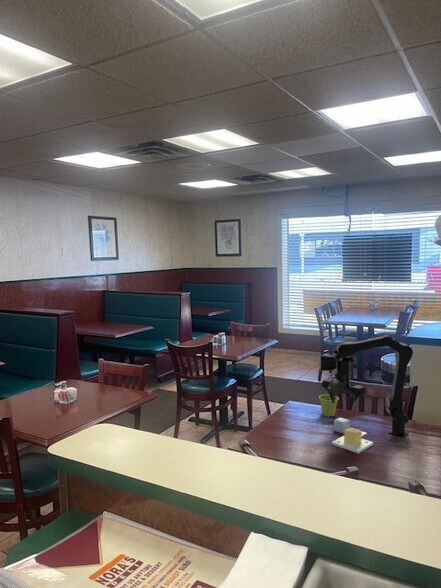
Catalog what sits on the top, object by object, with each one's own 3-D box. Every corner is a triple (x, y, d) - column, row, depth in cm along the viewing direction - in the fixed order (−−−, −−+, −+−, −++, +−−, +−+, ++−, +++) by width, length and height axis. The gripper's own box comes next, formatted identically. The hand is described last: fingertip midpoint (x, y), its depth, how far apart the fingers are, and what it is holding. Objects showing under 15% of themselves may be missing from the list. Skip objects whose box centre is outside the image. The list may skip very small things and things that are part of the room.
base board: (347, 436, 188) (347, 433, 188) (373, 444, 180) (373, 441, 180) (331, 444, 180) (331, 441, 180) (358, 453, 171) (358, 450, 171)
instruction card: (356, 430, 195) (356, 429, 195) (367, 433, 191) (367, 432, 191) (349, 433, 191) (349, 433, 191) (360, 437, 187) (360, 436, 187)
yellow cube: (361, 442, 180) (361, 430, 179) (355, 445, 176) (355, 433, 176) (350, 438, 183) (350, 427, 183) (344, 441, 180) (344, 430, 180)
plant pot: (340, 413, 216) (341, 396, 215) (334, 419, 208) (335, 401, 207) (322, 410, 221) (322, 393, 220) (316, 415, 213) (316, 398, 212)
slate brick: (339, 427, 198) (339, 416, 198) (349, 430, 195) (349, 419, 194) (333, 430, 195) (333, 419, 194) (343, 433, 191) (343, 422, 191)
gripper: (314, 370, 193) (314, 404, 194) (353, 378, 180) (352, 415, 181) (328, 366, 201) (327, 399, 202) (366, 373, 187) (365, 409, 189)
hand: (342, 405), depth 193 cm, fingers open, 9 cm apart
